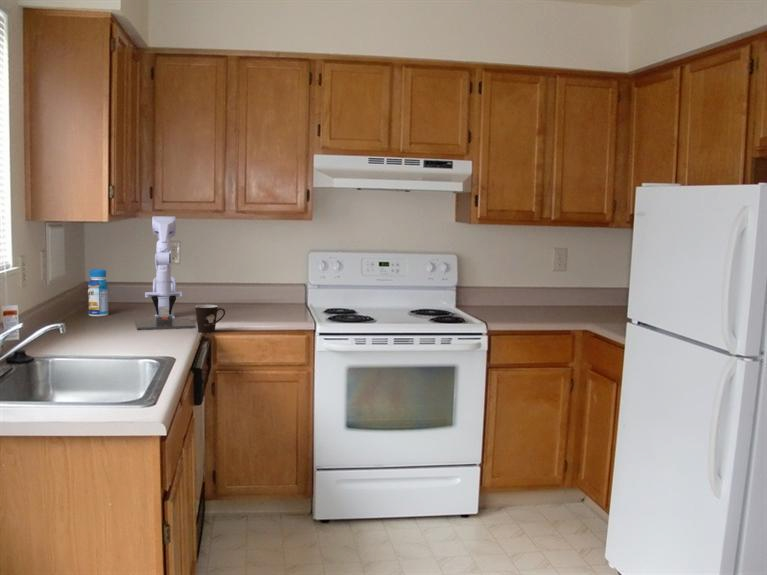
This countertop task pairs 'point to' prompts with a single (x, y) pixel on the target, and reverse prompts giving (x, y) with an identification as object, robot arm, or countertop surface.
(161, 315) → the silver metallic block
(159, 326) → the stand
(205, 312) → the coffee mug
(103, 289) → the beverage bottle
